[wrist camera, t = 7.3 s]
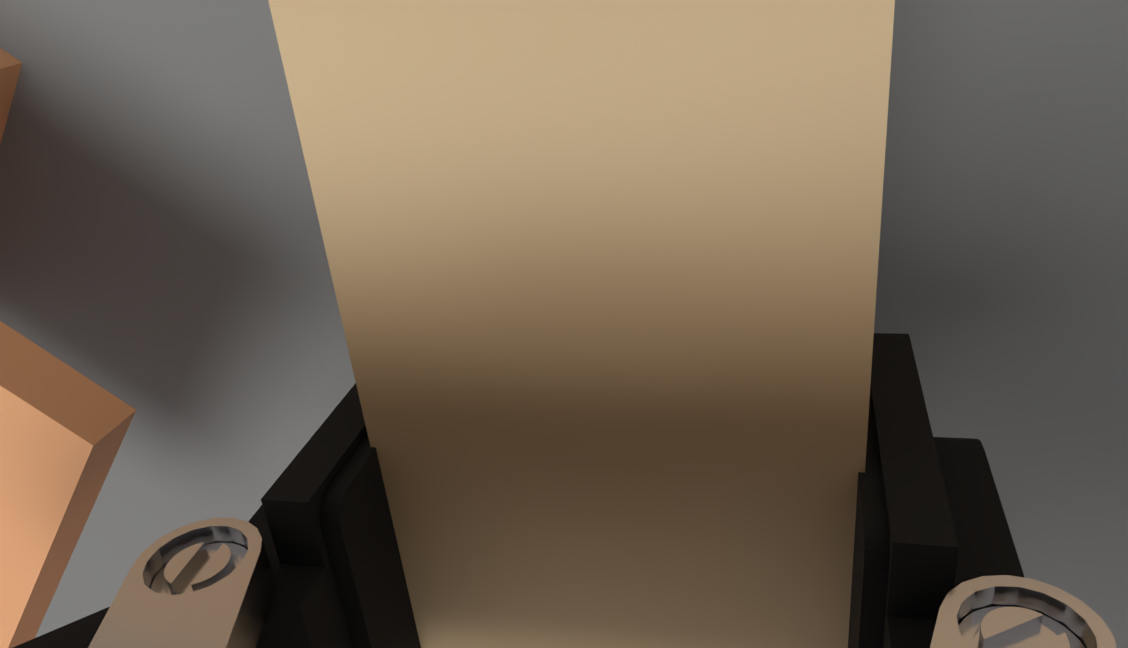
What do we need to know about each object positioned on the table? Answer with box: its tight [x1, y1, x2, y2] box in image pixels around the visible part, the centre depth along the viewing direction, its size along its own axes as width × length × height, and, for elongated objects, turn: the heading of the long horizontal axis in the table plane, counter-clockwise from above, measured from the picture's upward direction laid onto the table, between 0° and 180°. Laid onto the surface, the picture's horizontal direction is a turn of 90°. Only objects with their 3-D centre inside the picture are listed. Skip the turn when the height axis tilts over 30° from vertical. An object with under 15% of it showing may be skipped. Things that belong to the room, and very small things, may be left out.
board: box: [0, 0, 1128, 648], centre depth 17 cm, size 30×19×1 cm, turn 95°
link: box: [268, 0, 895, 648], centre depth 12 cm, size 18×8×3 cm, turn 5°
